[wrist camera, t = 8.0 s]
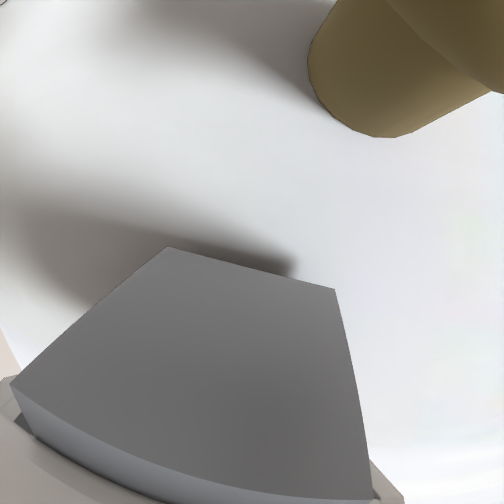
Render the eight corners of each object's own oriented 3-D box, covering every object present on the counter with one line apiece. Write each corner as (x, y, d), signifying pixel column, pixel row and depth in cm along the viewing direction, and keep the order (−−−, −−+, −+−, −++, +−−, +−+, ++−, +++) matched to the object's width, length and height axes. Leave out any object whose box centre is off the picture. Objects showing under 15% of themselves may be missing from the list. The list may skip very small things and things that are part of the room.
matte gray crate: (167, 246, 12) (8, 383, 4) (334, 289, 12) (373, 499, 3) (157, 369, 14) (79, 502, 6) (287, 404, 14) (269, 561, 6)
